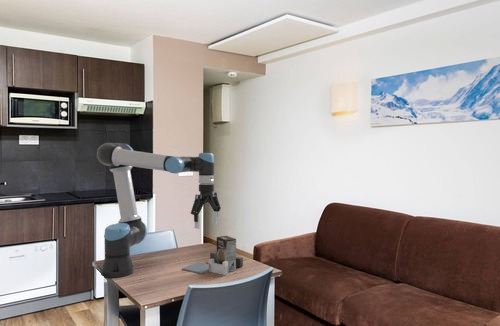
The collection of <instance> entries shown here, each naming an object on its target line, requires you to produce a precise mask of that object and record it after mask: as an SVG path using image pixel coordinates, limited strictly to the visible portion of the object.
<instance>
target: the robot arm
mask: <svg viewBox="0 0 500 326" xmlns="http://www.w3.org/2000/svg"><path fill="white" fill-rule="evenodd" d="M96 158H97V160H98V162H99V163H100V164H102V165H104V166H108V168H109V171H110V172H111V173H112V174H113V179H114V185H115V191H116V198H117V203H118V208H119V215H120V216H119V217H120V219H119V220H118V222H117V223H115V224H114V223H113V224H110V225H108V226H106V227H105V228H104V234H103V236H104V260H103V263H102V267H101V268H100V276H102V277H104V278H121V277H126V276H129V275H131V274H133V273H134V269H135V268H134V265H133V261H132V259H131V254H130V253H131V252H130V251H131V247H133V246H134V245H138V244H140V243H142V242H143V241H144V240H145V239H146V237H147V235H148V228H147V225H146V224H145V223H144V222H143V220H142V217H141V216H140V215H139V214H138V209H137V203H136V202H137V201H136V197H135V191H134V184H133V179H132V173H131V170H132V169H133V167H135V168H141V169H150V170H157V171H162V172H169V173H170V174H180V173H181V174H182V173H189V172H190V173H191V172H194V173H195V172H197V173H198V192H199V193H200V194H195V197H194V201H193V204H192V207H191V211H190V214H191V215H193V222H194V229H197V230H200V228H201V226H200V225H201V215H200V213H201V212H202V209H203V207H204V205H206V204H207V203H208V204H209V205H210V207H211V209H212V211H211V212H212V214H211V215H212V216H211V217H212V221H211V222H212V225H218V217H219V212H221V206H220V205H221V204H220V202H219V199H218V193H217V192H214V191H215V185H214V184H215V183H214V182H215V178H214V177H215V155H214V154H213V153H212V152H199V153H198V156H172V155H167V154H166V155H165V154H160V153H151V152H145V151H138V150H134V149H133V148H132V146H130V145H129V144H127V143H123V142H105V143H103V144H101V145H100V146H99V147H98V148H97V151H96Z"/></svg>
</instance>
